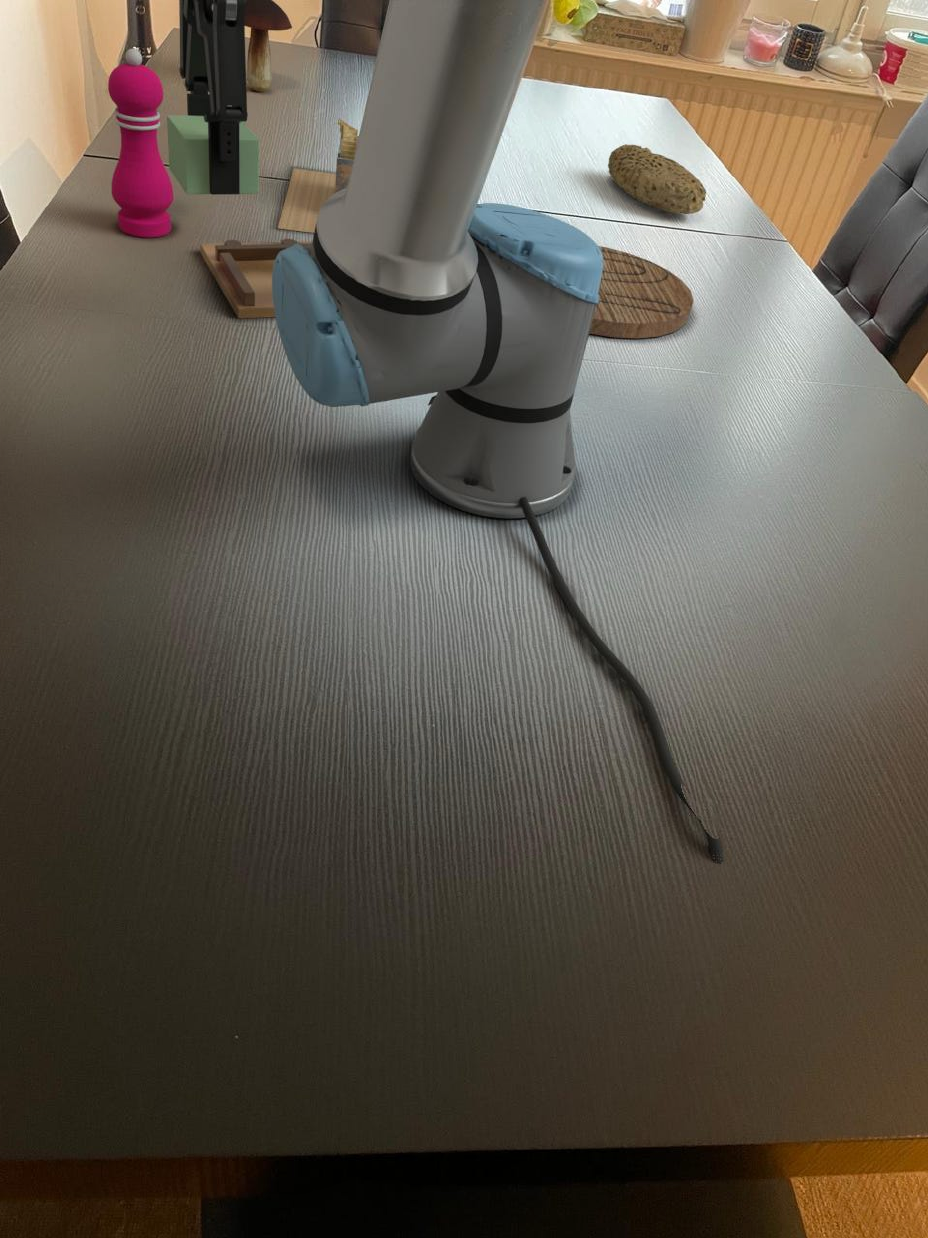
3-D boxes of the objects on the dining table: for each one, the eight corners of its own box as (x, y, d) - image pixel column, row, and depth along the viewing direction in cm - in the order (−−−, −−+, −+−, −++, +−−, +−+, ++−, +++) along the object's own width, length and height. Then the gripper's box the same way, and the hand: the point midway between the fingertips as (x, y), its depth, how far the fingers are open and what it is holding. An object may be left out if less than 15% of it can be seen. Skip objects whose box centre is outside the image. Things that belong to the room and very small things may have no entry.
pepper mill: (160, 244, 120) (149, 61, 107) (103, 231, 121) (86, 47, 108) (184, 225, 126) (177, 49, 113) (130, 213, 126) (117, 36, 113)
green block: (258, 193, 96) (259, 139, 93) (186, 194, 94) (184, 138, 90) (238, 169, 101) (238, 116, 98) (169, 168, 98) (166, 114, 95)
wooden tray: (358, 312, 114) (360, 290, 112) (238, 318, 108) (238, 295, 107) (311, 250, 126) (311, 229, 124) (200, 253, 120) (199, 230, 118)
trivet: (710, 347, 120) (715, 333, 119) (510, 325, 117) (512, 310, 115) (665, 267, 139) (669, 253, 138) (491, 245, 135) (493, 232, 134)
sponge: (594, 184, 167) (629, 199, 150) (610, 135, 164) (649, 145, 147) (662, 207, 171) (705, 225, 154) (680, 160, 167) (725, 172, 150)
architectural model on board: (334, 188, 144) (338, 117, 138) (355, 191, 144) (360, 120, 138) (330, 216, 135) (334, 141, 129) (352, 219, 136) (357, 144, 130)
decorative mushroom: (216, 83, 176) (214, -15, 167) (268, 80, 183) (269, -14, 173) (251, 101, 171) (251, 1, 161) (303, 98, 177) (306, 1, 168)
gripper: (136, -132, 87) (152, 144, 102) (193, -91, 74) (202, 217, 89) (220, -121, 90) (224, 145, 105) (289, -80, 77) (282, 216, 92)
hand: (213, 178), depth 97 cm, fingers closed on green block, 7 cm apart
